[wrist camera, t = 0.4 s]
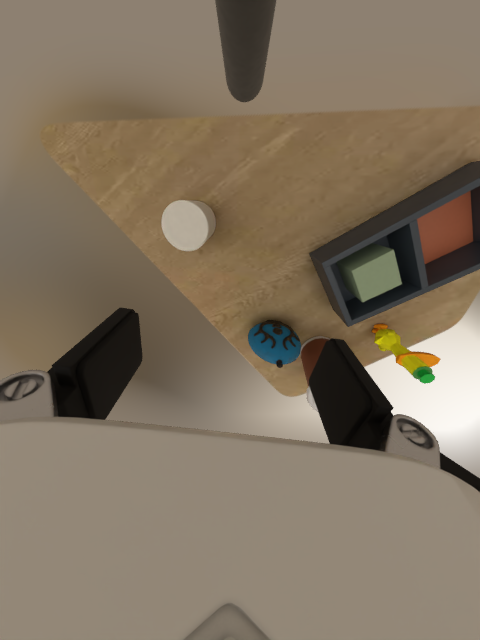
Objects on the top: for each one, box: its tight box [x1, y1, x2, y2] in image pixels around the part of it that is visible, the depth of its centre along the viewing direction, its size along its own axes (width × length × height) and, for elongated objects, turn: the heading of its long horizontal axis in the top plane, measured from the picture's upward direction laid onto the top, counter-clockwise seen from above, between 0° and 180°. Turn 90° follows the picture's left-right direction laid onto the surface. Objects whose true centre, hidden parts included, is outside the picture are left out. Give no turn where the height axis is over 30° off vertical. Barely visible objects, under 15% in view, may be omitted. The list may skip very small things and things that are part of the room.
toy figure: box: [372, 324, 440, 383], centre depth 31 cm, size 7×4×12 cm, turn 89°
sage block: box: [336, 243, 402, 302], centre depth 28 cm, size 5×5×5 cm
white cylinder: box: [162, 200, 216, 251], centre depth 25 cm, size 5×5×7 cm
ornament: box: [248, 320, 301, 368], centre depth 32 cm, size 8×5×10 cm, turn 82°
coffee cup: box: [300, 336, 330, 411], centre depth 33 cm, size 9×9×12 cm
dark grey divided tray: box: [309, 161, 480, 327], centre depth 27 cm, size 11×20×6 cm, turn 121°
